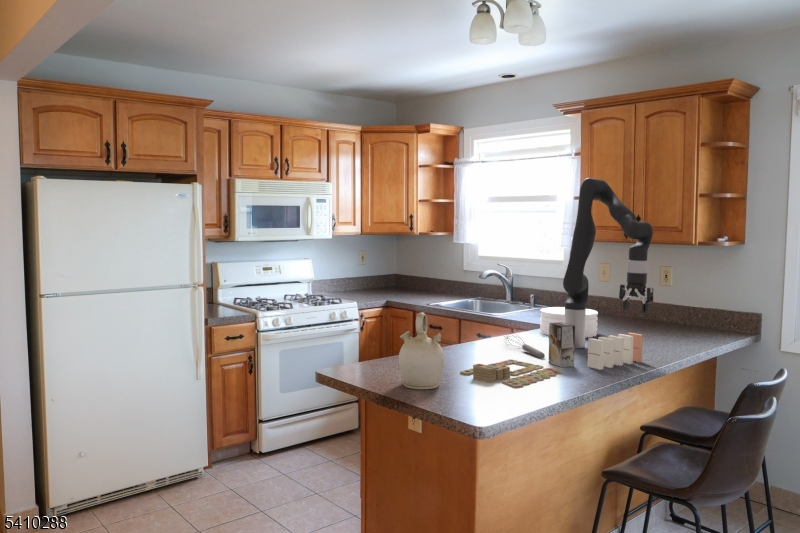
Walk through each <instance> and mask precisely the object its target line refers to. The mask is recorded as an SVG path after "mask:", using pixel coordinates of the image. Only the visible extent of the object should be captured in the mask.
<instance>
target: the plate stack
mask: <svg viewBox="0 0 800 533" xmlns="http://www.w3.org/2000/svg"><path fill="white" fill-rule="evenodd" d="M564 313H565V306H551V307H543V308H540V317H539V318H540V319H539V322H540V325H539V327H540V329H539V333H541V334H542V335H546V336H549V323H556V322H563V323H564ZM598 315H599V312H598V311H597V310H595V309H590V308H586V322H585V339H586V338H587V337H588V338H593V336H594V337H596V335H597V336H598V332H597V331H598V323H599V322H598V320H599V319H598V318H599V317H598Z"/></svg>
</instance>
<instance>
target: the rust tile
mask: <svg viewBox="0 0 800 533" xmlns="http://www.w3.org/2000/svg"><path fill="white" fill-rule="evenodd" d="M626 335H629V336H633V362H635V361H636V363H643V361H642V360H643V339H644V338H643V334H639V333H634V332H627V333H626Z"/></svg>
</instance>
